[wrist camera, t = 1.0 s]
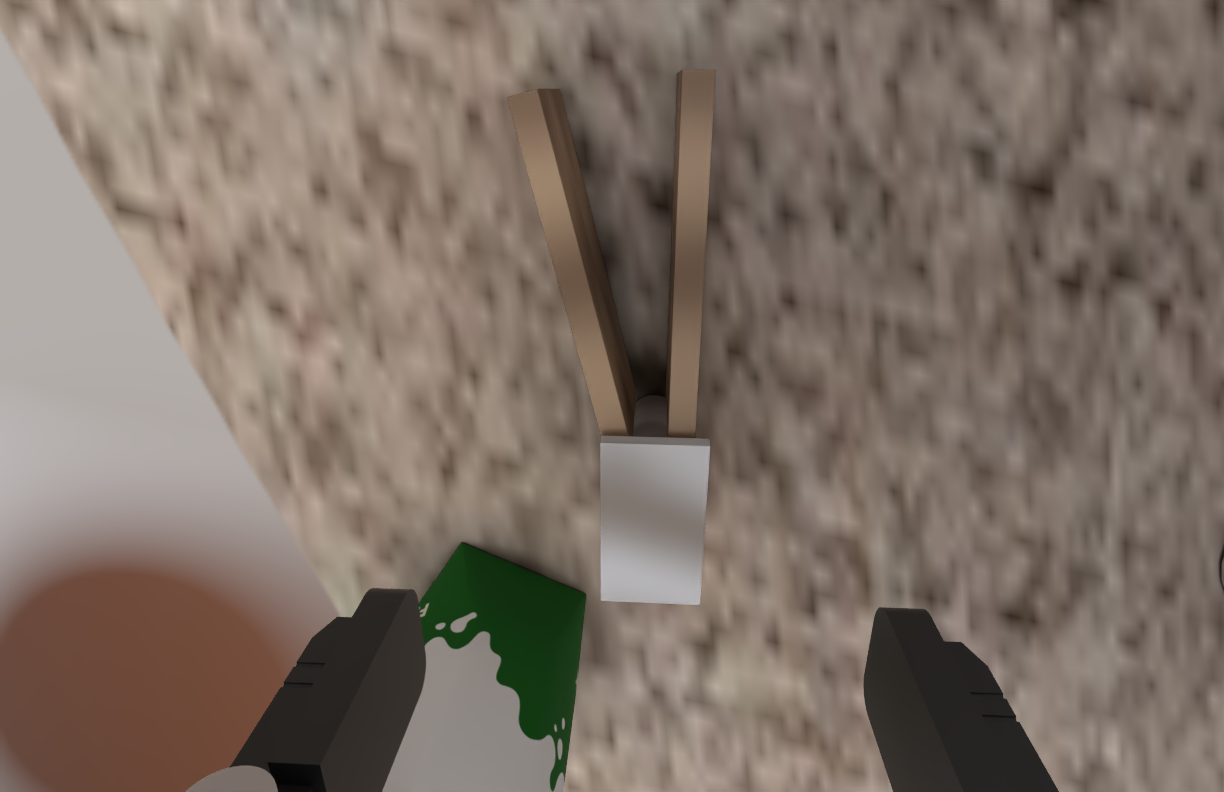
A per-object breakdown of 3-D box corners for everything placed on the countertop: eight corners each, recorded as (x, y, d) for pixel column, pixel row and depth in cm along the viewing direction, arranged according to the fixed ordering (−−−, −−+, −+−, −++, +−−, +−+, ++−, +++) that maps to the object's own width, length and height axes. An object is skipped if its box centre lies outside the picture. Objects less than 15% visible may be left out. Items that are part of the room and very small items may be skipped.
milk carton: (544, 697, 40) (451, 1203, 22) (395, 638, 39) (166, 1120, 21) (609, 587, 37) (564, 1077, 19) (448, 519, 36) (232, 970, 17)
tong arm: (684, 436, 33) (690, 502, 28) (628, 447, 33) (623, 514, 28) (602, 77, 27) (589, 74, 22) (535, 95, 27) (506, 97, 22)
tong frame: (691, 511, 35) (699, 604, 28) (610, 508, 35) (600, 600, 29) (716, 73, 27) (734, 69, 21) (612, 73, 27) (598, 68, 21)
